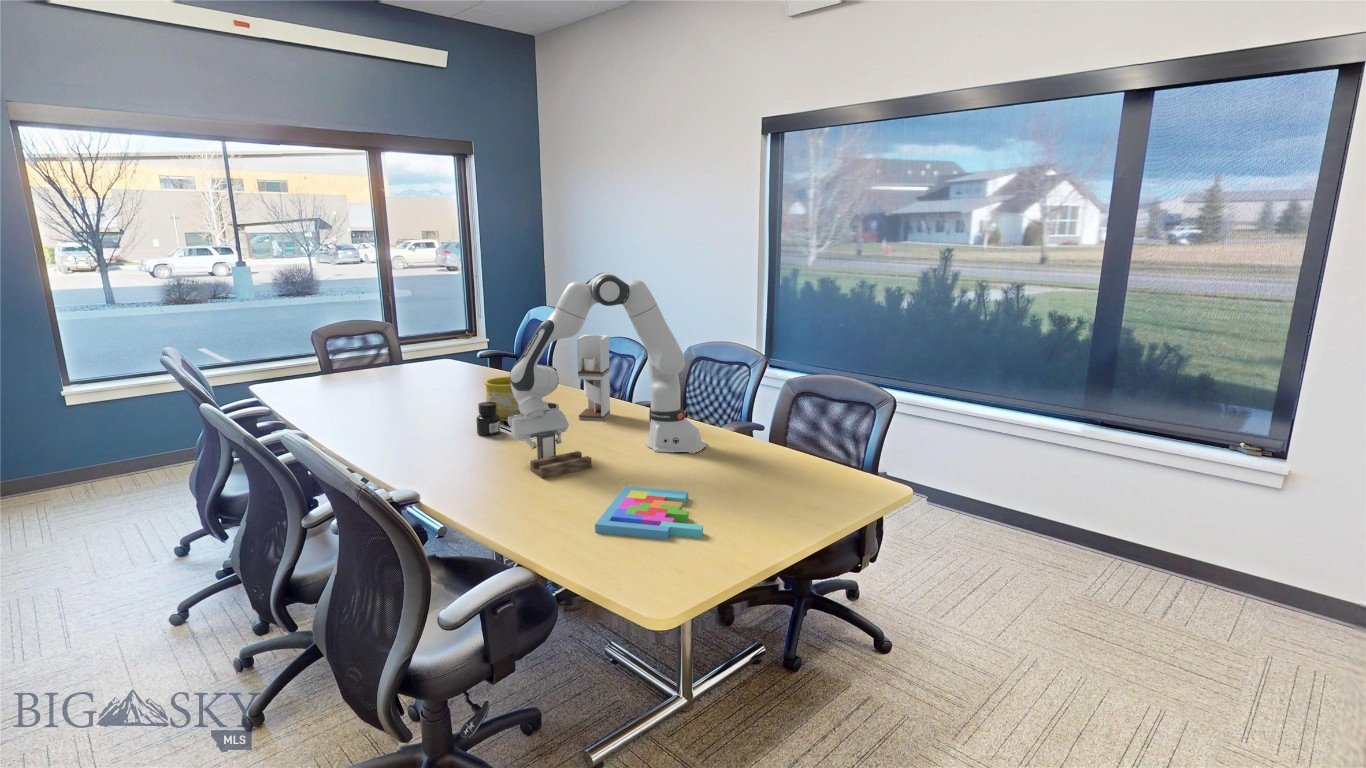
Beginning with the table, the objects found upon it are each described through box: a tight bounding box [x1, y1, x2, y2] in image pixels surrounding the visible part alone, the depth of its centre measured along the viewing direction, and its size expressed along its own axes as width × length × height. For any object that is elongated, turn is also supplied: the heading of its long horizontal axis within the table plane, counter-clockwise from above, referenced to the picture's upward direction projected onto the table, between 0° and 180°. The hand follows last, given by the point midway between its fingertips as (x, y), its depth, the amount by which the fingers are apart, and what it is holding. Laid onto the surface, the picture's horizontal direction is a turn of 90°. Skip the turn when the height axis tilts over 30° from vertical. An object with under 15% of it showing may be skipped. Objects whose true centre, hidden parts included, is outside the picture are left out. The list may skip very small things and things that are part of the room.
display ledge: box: [529, 450, 593, 480], centre depth 221 cm, size 18×9×4 cm, turn 127°
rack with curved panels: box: [576, 334, 611, 422], centre depth 282 cm, size 11×11×35 cm
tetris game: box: [594, 486, 704, 540], centre depth 185 cm, size 28×3×28 cm
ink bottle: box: [476, 401, 501, 437], centre depth 260 cm, size 10×9×12 cm
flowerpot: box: [484, 376, 521, 423], centre depth 282 cm, size 18×18×16 cm
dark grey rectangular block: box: [536, 431, 557, 459], centre depth 229 cm, size 3×6×10 cm, turn 127°
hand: (547, 445), depth 228 cm, fingers open, 8 cm apart
